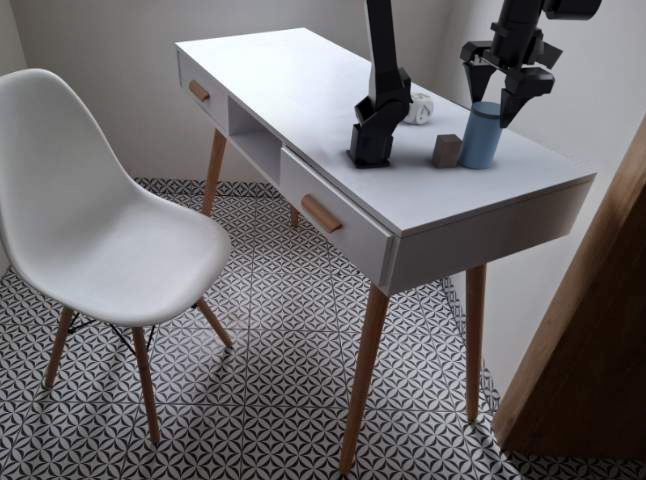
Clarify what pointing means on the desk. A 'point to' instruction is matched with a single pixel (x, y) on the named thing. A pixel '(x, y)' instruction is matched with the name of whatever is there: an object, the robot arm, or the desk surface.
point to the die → (420, 109)
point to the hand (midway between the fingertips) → (488, 117)
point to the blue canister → (481, 135)
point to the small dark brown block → (446, 150)
